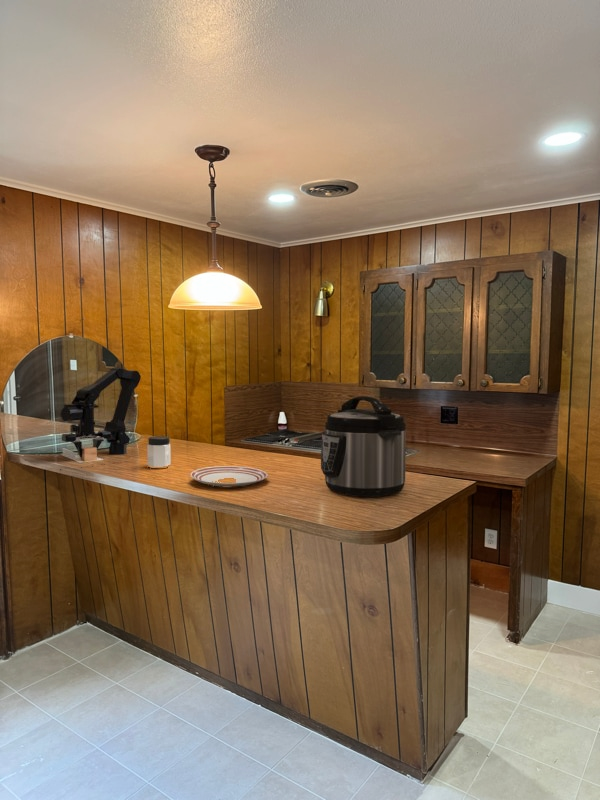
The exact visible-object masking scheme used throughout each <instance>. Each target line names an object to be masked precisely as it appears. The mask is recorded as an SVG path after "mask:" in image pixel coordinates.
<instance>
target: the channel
mask: <svg viewBox="0 0 600 800" xmlns="http://www.w3.org/2000/svg"><path fill="white" fill-rule="evenodd" d="M77 454H78V451H77V452H75V451H72V450H71V449H67V448H65V447H62V453H60V454H59V455H61V456H63V457H65V458H67V459H70V460H73V461H76V462H77V463H86V462H87V463H88V462H89V461H83V460H81V458H80V456H79V454H78V455H77ZM96 461H104V459H103V458H100V457H98V456H97V460H92V461H91V462H96Z"/></svg>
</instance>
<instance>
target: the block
mask: <svg viewBox="0 0 600 800" xmlns="http://www.w3.org/2000/svg"><path fill="white" fill-rule="evenodd" d="M97 457H98V450H97V448H96V447H93V445H91V446H82V458H81V460H83V461H88V462H93V461H92V460H97ZM97 461H98V460H97Z"/></svg>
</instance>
